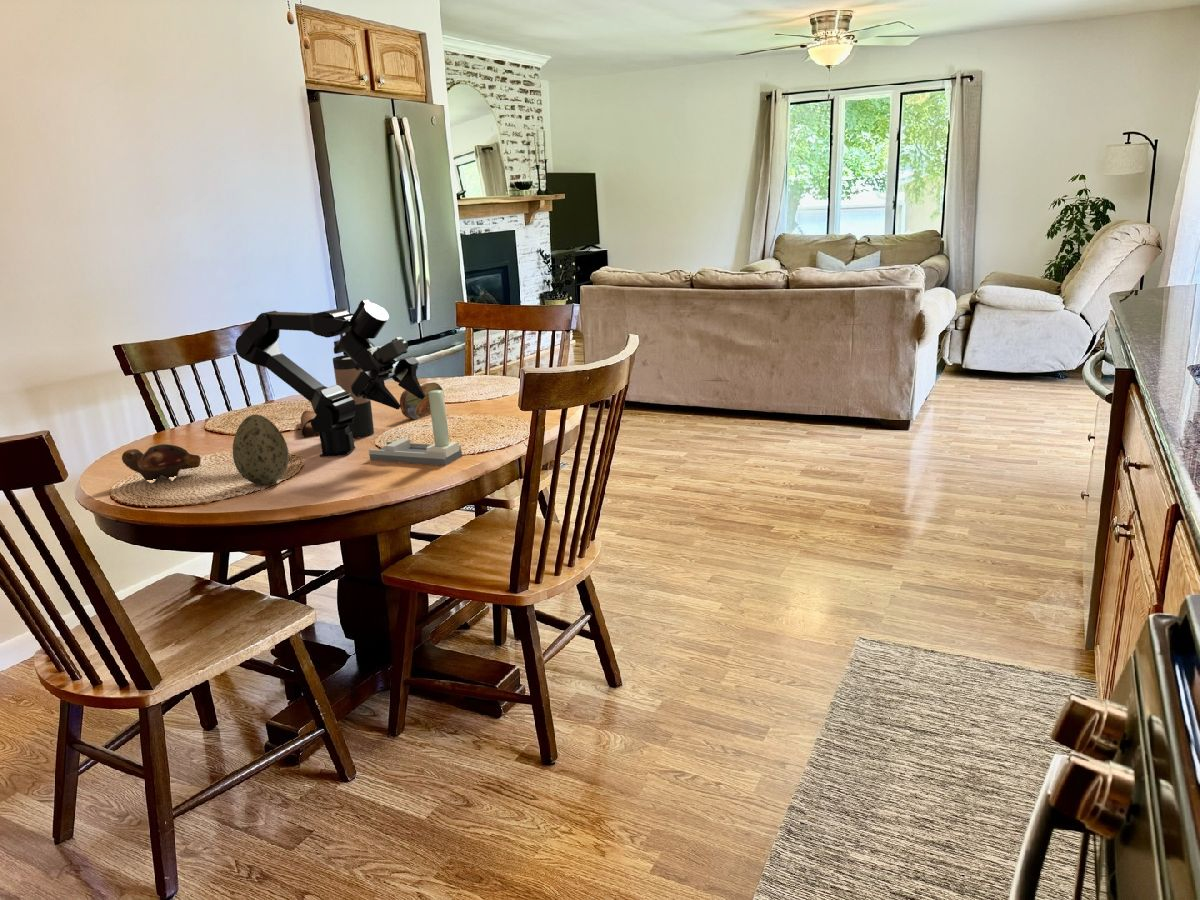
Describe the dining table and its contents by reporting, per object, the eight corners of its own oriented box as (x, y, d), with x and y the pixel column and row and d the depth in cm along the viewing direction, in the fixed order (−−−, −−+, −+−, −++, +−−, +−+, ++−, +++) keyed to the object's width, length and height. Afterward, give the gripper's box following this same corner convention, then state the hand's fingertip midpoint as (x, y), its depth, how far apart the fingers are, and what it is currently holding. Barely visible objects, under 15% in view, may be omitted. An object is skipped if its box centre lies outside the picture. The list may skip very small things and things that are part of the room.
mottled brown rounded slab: (408, 422, 219) (404, 391, 217) (399, 421, 221) (395, 390, 219) (446, 409, 231) (443, 379, 229) (438, 408, 233) (434, 379, 231)
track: (370, 460, 187) (367, 445, 186) (388, 451, 193) (386, 437, 192) (445, 465, 179) (443, 450, 178) (462, 456, 185) (460, 441, 184)
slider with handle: (427, 456, 181) (419, 394, 177) (440, 449, 186) (432, 388, 182) (446, 457, 179) (438, 394, 175) (459, 450, 184) (452, 389, 180)
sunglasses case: (337, 432, 213) (319, 413, 210) (315, 449, 212) (297, 430, 209) (333, 418, 229) (317, 399, 226) (312, 434, 228) (296, 415, 225)
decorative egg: (255, 476, 181) (242, 409, 176) (302, 474, 179) (290, 407, 175) (229, 492, 170) (215, 422, 166) (278, 491, 169) (265, 420, 165)
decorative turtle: (125, 480, 183) (120, 445, 182) (200, 471, 191) (196, 437, 189) (125, 490, 175) (120, 453, 173) (204, 479, 182) (199, 444, 181)
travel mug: (346, 440, 205) (334, 361, 199) (342, 433, 212) (330, 356, 206) (377, 435, 208) (366, 357, 202) (372, 429, 215) (361, 352, 209)
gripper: (353, 334, 171) (405, 387, 170) (406, 321, 187) (453, 369, 186) (329, 371, 176) (379, 423, 175) (383, 355, 193) (428, 402, 192)
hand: (411, 402), depth 182 cm, fingers open, 9 cm apart
